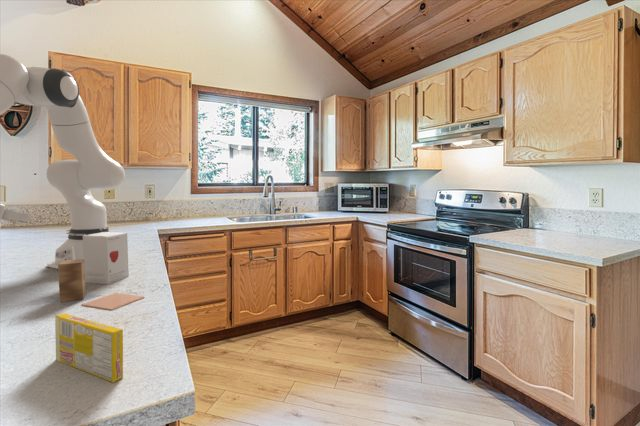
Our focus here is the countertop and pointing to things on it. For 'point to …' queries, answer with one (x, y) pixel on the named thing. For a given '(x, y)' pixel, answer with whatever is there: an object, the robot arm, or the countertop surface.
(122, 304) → the pad
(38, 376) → the countertop surface
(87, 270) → the supplement box
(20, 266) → the countertop surface
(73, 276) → the walnut block
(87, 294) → the grey square tile
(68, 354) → the candy box
